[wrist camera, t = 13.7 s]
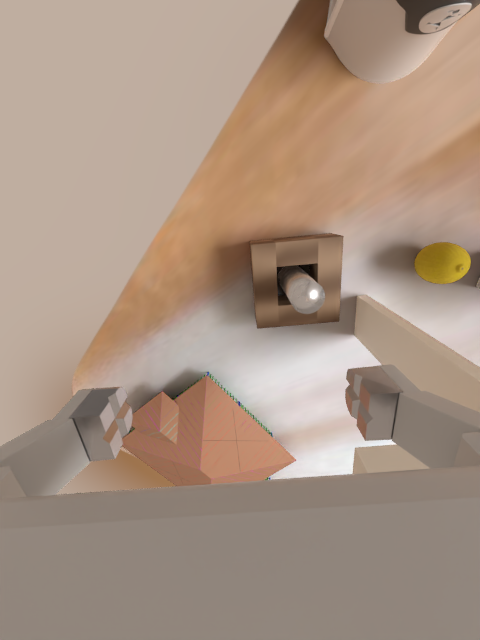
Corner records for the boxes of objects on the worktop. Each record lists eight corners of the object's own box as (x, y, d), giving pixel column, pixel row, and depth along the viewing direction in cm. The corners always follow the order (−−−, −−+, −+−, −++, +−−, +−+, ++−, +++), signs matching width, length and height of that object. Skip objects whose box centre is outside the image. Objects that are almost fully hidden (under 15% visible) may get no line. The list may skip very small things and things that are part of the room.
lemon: (413, 236, 40) (453, 241, 32) (447, 244, 40) (495, 251, 33) (397, 272, 42) (432, 285, 34) (430, 279, 42) (471, 294, 35)
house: (198, 354, 47) (190, 381, 40) (305, 458, 57) (315, 496, 49) (113, 420, 53) (92, 455, 45) (224, 505, 62) (222, 546, 55)
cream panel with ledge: (285, 302, 43) (370, 462, 16) (366, 294, 43) (602, 446, 15) (287, 361, 47) (356, 572, 20) (361, 354, 47) (539, 561, 19)
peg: (277, 265, 41) (290, 283, 31) (303, 263, 41) (325, 279, 31) (278, 290, 43) (291, 315, 32) (303, 288, 43) (324, 312, 32)
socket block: (249, 241, 40) (251, 244, 35) (330, 233, 39) (343, 236, 35) (255, 316, 44) (257, 328, 40) (328, 309, 44) (339, 321, 39)
